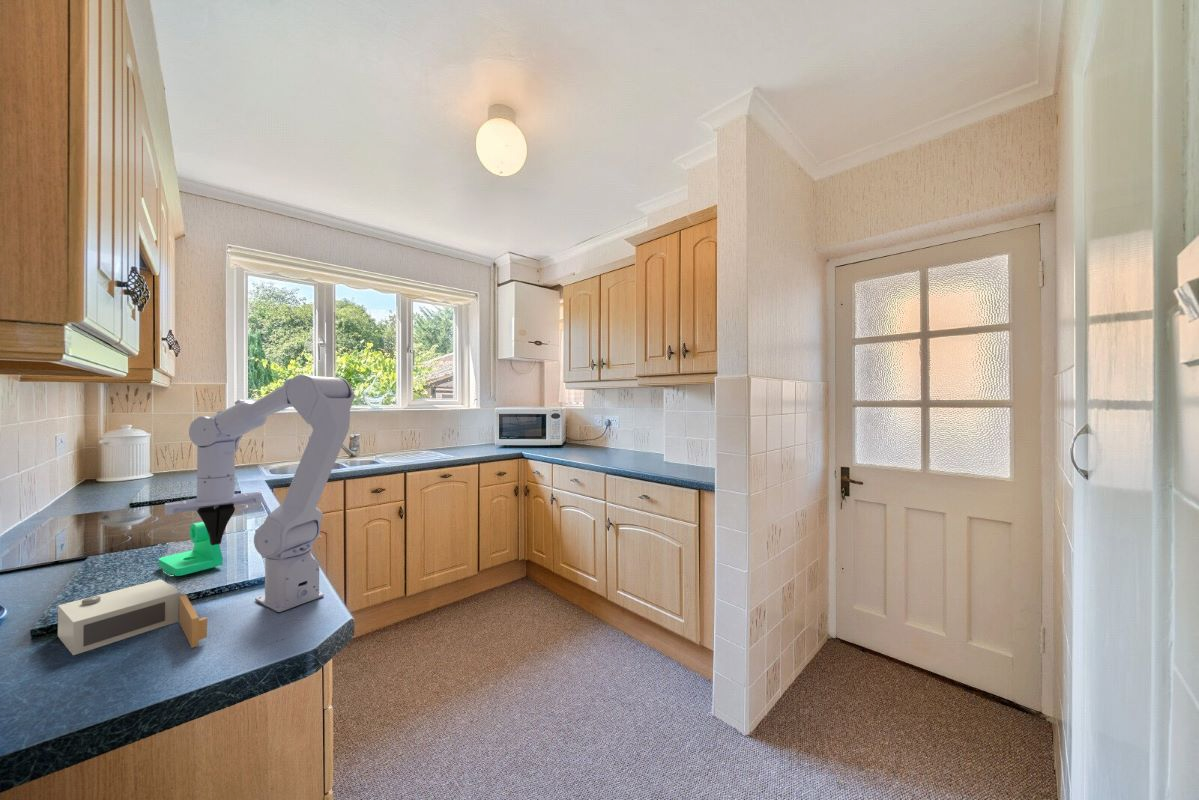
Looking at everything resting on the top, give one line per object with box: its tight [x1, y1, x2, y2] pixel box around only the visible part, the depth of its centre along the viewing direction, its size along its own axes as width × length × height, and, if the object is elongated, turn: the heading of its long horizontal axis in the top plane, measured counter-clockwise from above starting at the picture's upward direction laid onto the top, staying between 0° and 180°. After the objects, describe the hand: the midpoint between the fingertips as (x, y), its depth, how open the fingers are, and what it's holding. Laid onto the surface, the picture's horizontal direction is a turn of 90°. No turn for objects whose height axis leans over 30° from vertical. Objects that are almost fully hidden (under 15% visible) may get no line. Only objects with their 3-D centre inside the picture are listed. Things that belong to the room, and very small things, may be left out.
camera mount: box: [158, 521, 224, 577], centre depth 98 cm, size 12×8×10 cm, turn 60°
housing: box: [57, 579, 182, 656], centre depth 73 cm, size 11×12×6 cm
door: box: [178, 593, 208, 648], centre depth 71 cm, size 13×2×4 cm, turn 51°
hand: (215, 543), depth 87 cm, fingers closed
